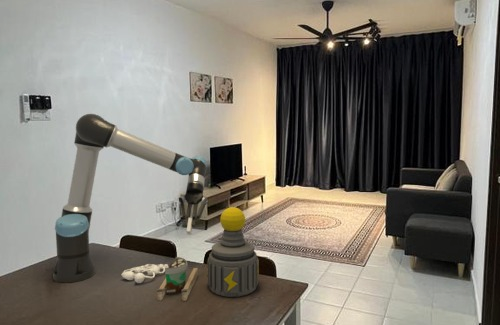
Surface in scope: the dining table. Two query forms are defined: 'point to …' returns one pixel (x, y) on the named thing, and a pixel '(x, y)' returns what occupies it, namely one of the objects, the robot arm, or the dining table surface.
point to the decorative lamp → (233, 259)
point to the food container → (176, 276)
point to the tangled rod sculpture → (140, 276)
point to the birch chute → (185, 291)
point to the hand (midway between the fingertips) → (188, 232)
